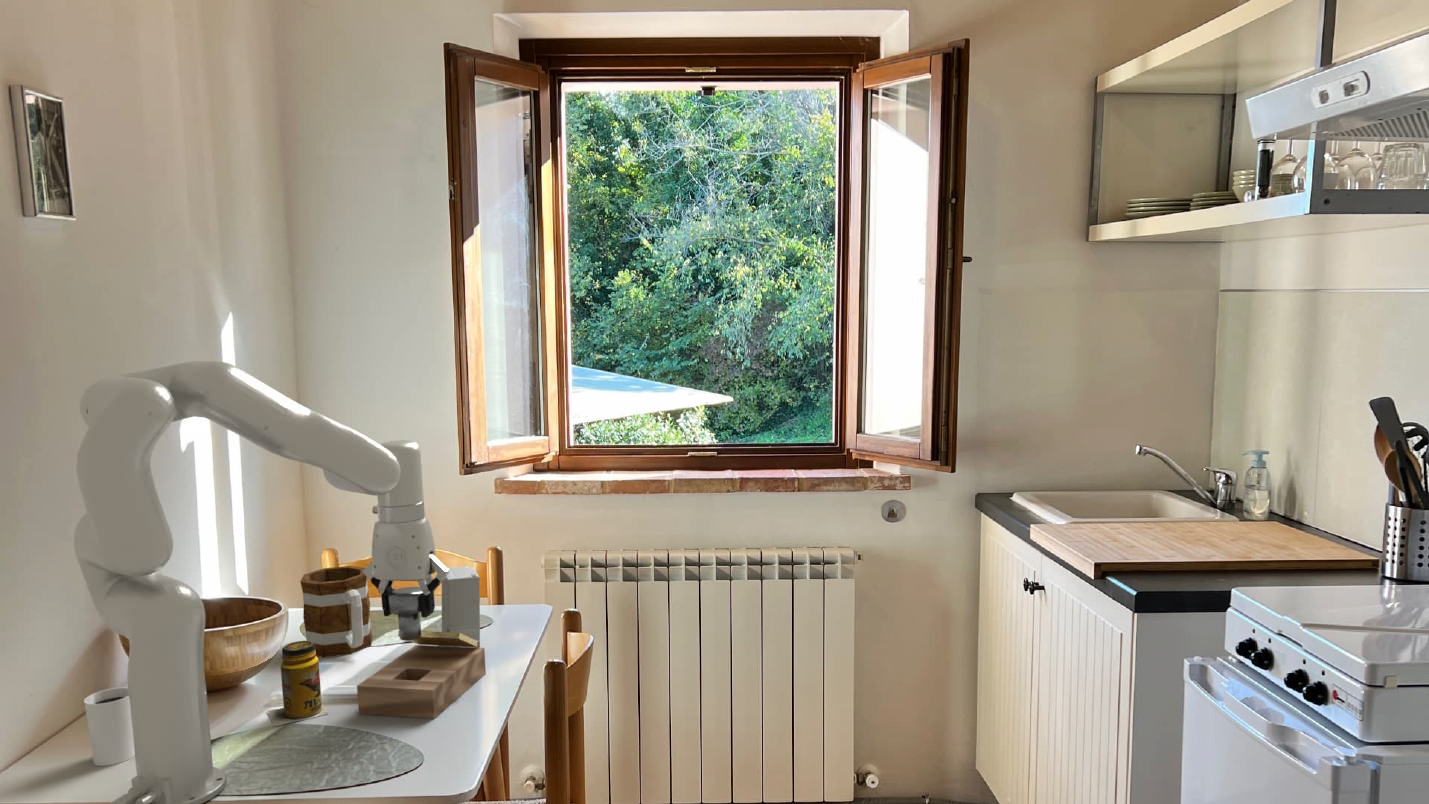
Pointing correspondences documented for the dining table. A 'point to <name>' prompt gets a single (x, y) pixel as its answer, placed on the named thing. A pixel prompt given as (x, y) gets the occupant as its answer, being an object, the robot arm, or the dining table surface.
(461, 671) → the block
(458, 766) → the dining table surface
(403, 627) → the steel pin
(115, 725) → the white cup
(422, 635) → the brass keeper
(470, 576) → the skincare box
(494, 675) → the dining table surface
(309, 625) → the mug
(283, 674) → the condiment
